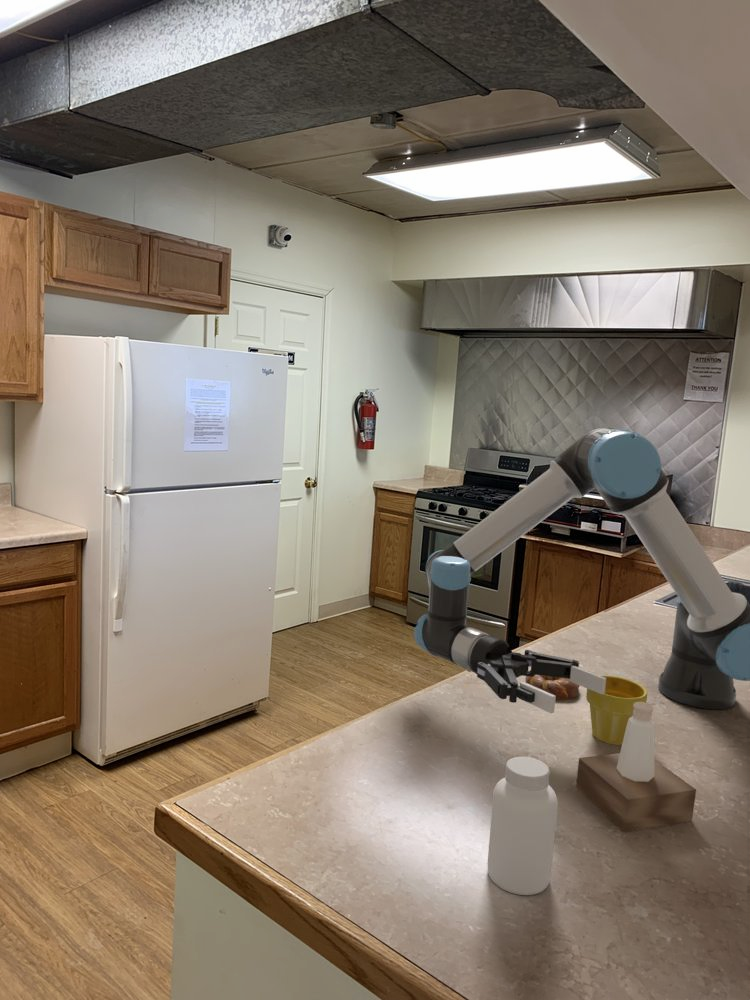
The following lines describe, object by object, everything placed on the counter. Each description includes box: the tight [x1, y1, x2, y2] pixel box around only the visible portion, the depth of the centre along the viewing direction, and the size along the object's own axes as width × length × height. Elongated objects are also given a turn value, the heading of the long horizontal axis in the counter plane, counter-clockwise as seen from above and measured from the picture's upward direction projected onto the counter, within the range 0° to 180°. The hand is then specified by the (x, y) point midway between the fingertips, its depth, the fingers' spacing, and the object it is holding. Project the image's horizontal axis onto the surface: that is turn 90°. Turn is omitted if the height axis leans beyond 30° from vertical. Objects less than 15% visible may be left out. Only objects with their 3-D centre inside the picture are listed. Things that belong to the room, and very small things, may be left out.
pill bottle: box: [487, 756, 559, 896], centre depth 92 cm, size 8×8×15 cm
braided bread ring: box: [525, 675, 581, 700], centre depth 154 cm, size 12×11×4 cm
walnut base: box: [575, 752, 697, 833], centre depth 112 cm, size 12×12×5 cm
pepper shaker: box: [617, 702, 656, 782], centre depth 110 cm, size 5×5×11 cm
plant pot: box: [585, 674, 648, 746], centre depth 133 cm, size 10×10×10 cm
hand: (580, 695), depth 118 cm, fingers open, 13 cm apart
